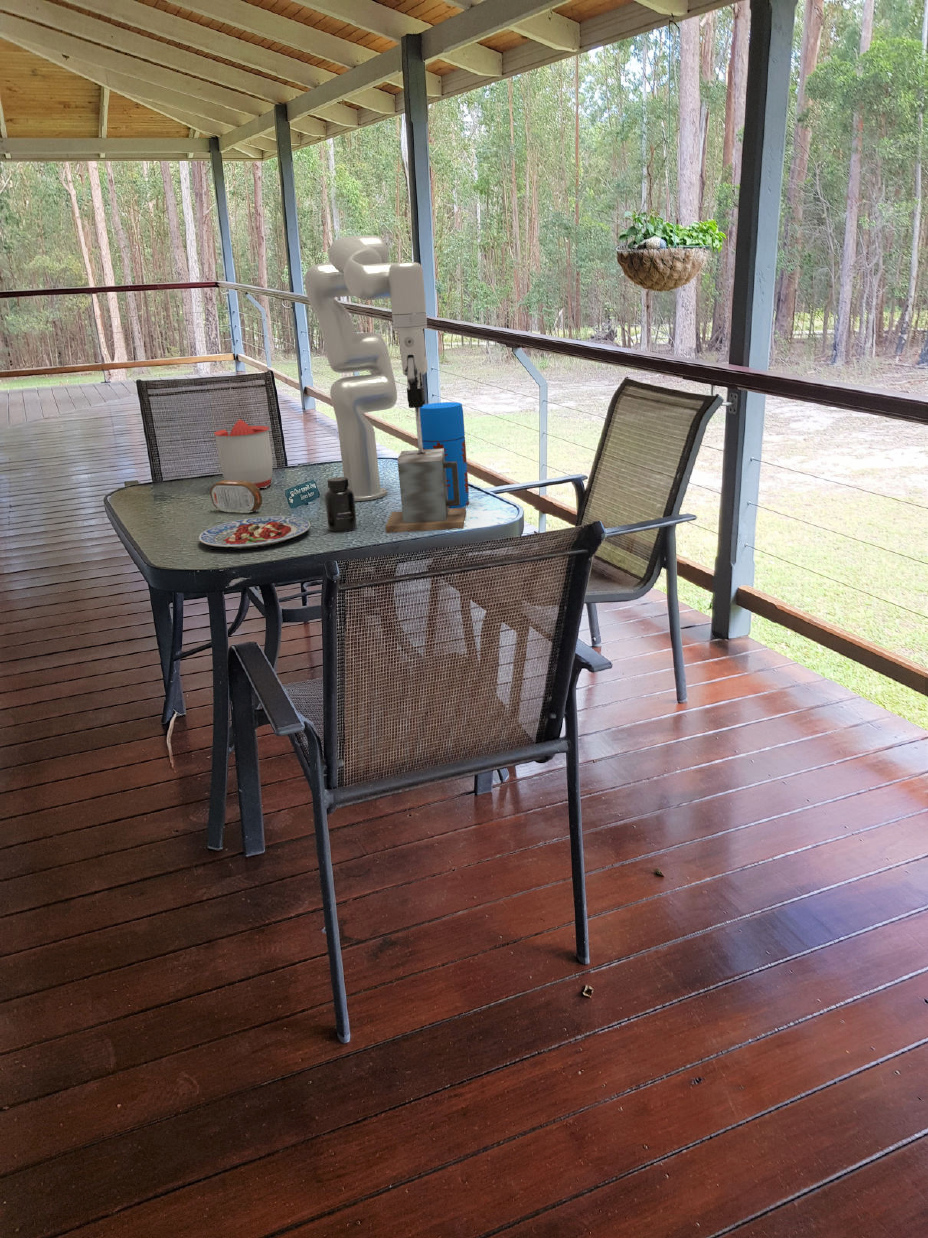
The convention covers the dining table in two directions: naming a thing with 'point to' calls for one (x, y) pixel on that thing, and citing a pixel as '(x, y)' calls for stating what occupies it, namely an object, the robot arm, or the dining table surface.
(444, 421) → the thermos
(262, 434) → the citrus juicer
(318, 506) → the dining table surface
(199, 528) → the dining table surface
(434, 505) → the stand
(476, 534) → the dining table surface
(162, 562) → the dining table surface
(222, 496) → the tin
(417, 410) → the grey rod with knob
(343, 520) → the supplement bottle
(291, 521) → the ceramic plate
